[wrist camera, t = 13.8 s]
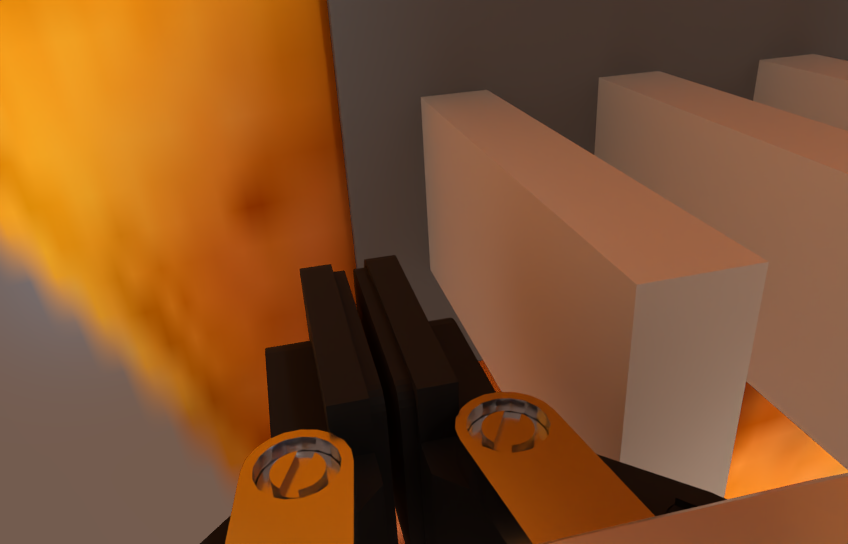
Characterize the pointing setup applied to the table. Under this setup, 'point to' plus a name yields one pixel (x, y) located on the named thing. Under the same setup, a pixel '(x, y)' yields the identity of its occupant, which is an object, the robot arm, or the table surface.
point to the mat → (526, 82)
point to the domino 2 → (754, 222)
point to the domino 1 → (590, 288)
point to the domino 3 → (805, 87)
